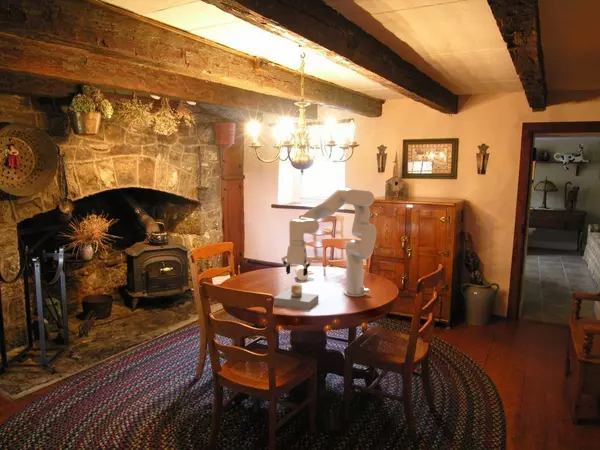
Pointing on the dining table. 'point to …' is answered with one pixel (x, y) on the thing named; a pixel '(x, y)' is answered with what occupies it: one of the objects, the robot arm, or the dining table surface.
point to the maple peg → (296, 290)
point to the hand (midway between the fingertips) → (296, 274)
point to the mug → (300, 272)
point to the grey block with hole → (296, 300)
